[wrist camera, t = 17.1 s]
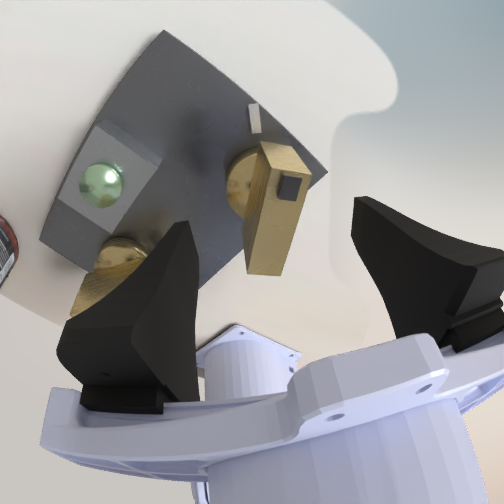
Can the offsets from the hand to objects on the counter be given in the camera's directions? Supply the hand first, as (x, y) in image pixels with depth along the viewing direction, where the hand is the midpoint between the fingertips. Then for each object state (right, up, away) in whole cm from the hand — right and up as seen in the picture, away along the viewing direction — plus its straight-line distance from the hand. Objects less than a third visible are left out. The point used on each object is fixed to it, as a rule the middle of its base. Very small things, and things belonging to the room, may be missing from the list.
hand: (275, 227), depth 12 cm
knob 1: (-9, -2, +6) cm, 11 cm away
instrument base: (-7, +2, +5) cm, 8 cm away
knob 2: (0, +3, +4) cm, 5 cm away
